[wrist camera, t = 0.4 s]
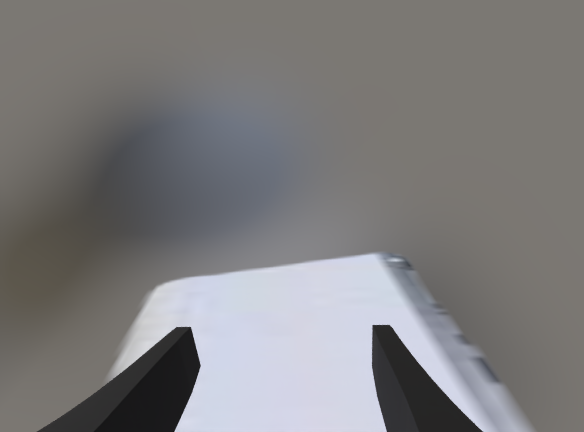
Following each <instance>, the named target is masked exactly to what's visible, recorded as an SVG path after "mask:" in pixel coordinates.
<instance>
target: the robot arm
mask: <svg viewBox="0 0 584 432" xmlns="http://www.w3.org/2000/svg"><path fill="white" fill-rule="evenodd" d="M200 366H201V365H200V361H199V357H198V353H197V349H196V345H195V341H194V337H193V333H192V329H191V327H176V328H175V329H174V330H172V331H171V332H170V333H169V334H167V335H166V336H165V337H164V338H163V339H161V340H160V341H159V342H158V343H157V344H155V345H154V346H153V347H152V348H151V349H150V350H148V351H147V352H146V353H145V354H144V355H142V356H141V357H140V358H139V359H138V360H136V361H135V362H134V363H133V364H132V365H130V366H129V367H128V368H127V369H125V370H124V371H123V372H122V373H120V374H119V375H118V376H116V377H115V378H114V379H113V380H111V381H110V382H109V383H107V384H106V385H105V386H104V387H102V388H101V389H100V390H98V391H97V392H96V393H94V394H93V395H92V396H90V397H89V398H87V399H86V400H85V401H83V402H82V403H81V404H79V405H77V406H76V407H75V408H73V409H72V410H70V411H69V412H67V413H66V414H64V415H63V416H61V417H60V418H58V419H57V420H55V421H53V422H52V423H50V424H49V425H47V426H46V427H44V428H42V429H41V430H39V431H37V432H174V431H175V429H176V427H177V425H178V422H179V420H180V418H181V416H182V414H183V411H184V409H185V407H186V405H187V403H188V400H189V398H190V396H191V394H192V391H193V388H194V385H195V382H196V379H197V376H198V373H199V369H200ZM372 369H373V375H374V381H375V386H376V392H377V397H378V401H379V404H380V408H381V412H382V415H383V419H384V423H385V426H386V430H387V432H483V431H482V430H480V429H479V428H478V427H477V426H476V425H475V424H474V423H473V422H472V421H471V420H470V419H469V418H468V417H467V416H466V415H465V414H464V413H463V412H462V411H461V410H460V409H459V408H458V407H457V406H456V405H455V404H454V403H453V402H452V401H451V400H450V399H449V397H448V396H447V395H446V394H445V393H444V392H443V391H442V390H441V389H440V388H439V387H438V385H437V384H436V383H435V382H434V381H433V380H432V379H431V377H430V376H429V375H428V374H427V373H426V371H425V370H424V369H423V368H422V367H421V365H420V364H419V363H418V362H417V361H416V359H415V358H414V357H413V356H412V354H411V353H410V352H409V350H408V349H407V348H406V346H405V345H404V344H403V342H402V341H401V340H400V338H399V337H398V335H397V334H396V333H395V331H394V330H393V328H392V327H391V326H390V325H373V333H372Z"/></svg>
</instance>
